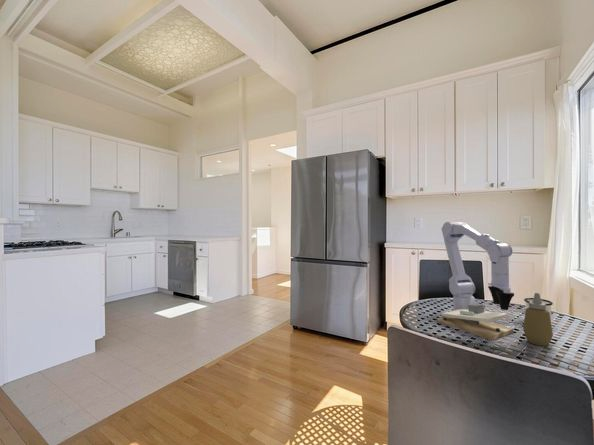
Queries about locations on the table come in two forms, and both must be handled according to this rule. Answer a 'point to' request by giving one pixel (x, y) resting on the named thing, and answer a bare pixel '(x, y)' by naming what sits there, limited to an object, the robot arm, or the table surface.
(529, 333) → the squeeze bottle
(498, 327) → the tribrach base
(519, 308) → the table surface
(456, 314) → the level plate
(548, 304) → the mug
